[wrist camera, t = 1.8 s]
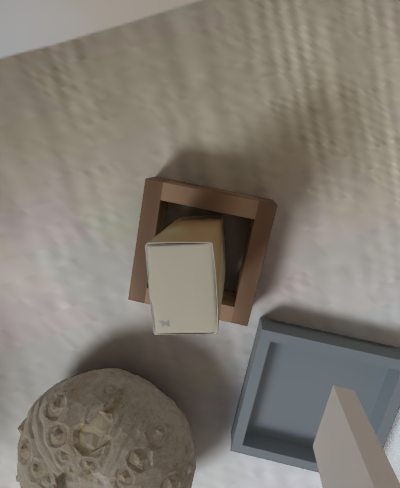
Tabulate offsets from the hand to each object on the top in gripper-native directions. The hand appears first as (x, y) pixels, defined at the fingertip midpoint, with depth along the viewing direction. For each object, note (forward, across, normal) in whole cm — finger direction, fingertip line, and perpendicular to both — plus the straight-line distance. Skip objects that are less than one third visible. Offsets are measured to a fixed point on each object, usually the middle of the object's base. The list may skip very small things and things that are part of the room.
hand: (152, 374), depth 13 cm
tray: (+21, +14, -13) cm, 28 cm away
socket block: (+20, 0, 0) cm, 21 cm away
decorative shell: (+21, -5, -22) cm, 31 cm away
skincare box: (+21, 0, 0) cm, 21 cm away
